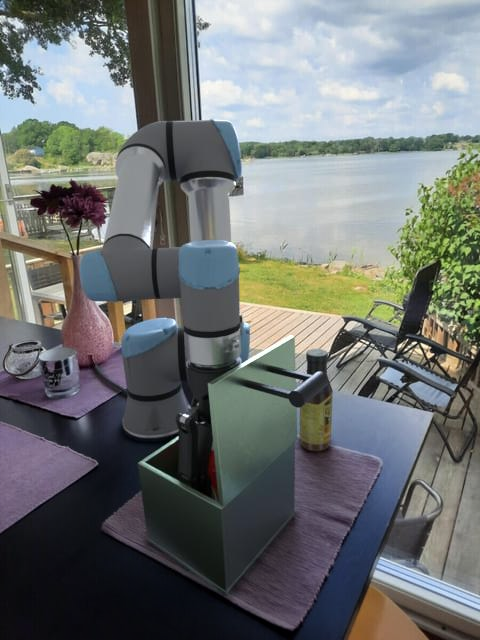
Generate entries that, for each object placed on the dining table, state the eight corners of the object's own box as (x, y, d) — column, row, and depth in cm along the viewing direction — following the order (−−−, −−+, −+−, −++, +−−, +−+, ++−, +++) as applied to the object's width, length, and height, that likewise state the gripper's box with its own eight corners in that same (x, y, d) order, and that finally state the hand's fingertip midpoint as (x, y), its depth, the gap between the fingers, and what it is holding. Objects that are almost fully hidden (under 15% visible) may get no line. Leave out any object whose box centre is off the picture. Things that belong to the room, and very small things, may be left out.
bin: (147, 541, 67) (137, 462, 62) (220, 478, 80) (217, 410, 75) (226, 596, 58) (221, 509, 53) (294, 515, 71) (295, 440, 66)
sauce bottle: (330, 454, 85) (334, 361, 79) (298, 451, 87) (299, 359, 80) (330, 435, 91) (334, 347, 85) (300, 433, 93) (301, 345, 86)
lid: (207, 383, 48) (274, 402, 43) (289, 335, 61) (349, 346, 56) (218, 504, 53) (280, 535, 48) (293, 436, 66) (348, 455, 61)
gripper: (181, 395, 50) (194, 552, 57) (277, 340, 65) (278, 471, 72) (137, 378, 54) (155, 527, 61) (237, 331, 69) (241, 455, 76)
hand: (221, 496), depth 67 cm, fingers closed on soda can, 7 cm apart
